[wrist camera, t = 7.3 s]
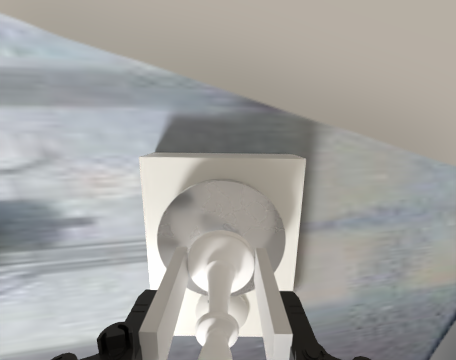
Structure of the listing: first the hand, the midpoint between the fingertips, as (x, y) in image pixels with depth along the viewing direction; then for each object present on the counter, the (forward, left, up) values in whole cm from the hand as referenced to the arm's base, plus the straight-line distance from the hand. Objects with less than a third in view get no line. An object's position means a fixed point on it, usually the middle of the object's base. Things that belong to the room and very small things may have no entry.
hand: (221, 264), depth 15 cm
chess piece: (0, 0, -1) cm, 1 cm away
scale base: (+3, 0, -9) cm, 10 cm away
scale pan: (0, 0, -5) cm, 5 cm away
